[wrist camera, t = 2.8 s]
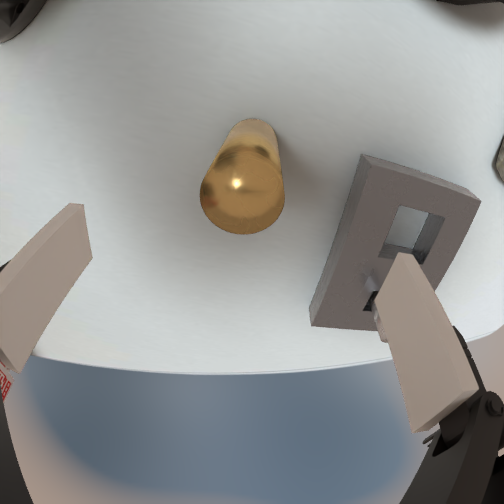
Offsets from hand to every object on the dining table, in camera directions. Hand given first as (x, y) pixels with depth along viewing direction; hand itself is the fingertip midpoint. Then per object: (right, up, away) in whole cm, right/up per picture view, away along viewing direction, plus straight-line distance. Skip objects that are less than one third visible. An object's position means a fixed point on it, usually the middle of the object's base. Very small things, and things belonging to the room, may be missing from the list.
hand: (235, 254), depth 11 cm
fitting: (+1, +10, +13) cm, 17 cm away
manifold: (+16, 0, +19) cm, 25 cm away
